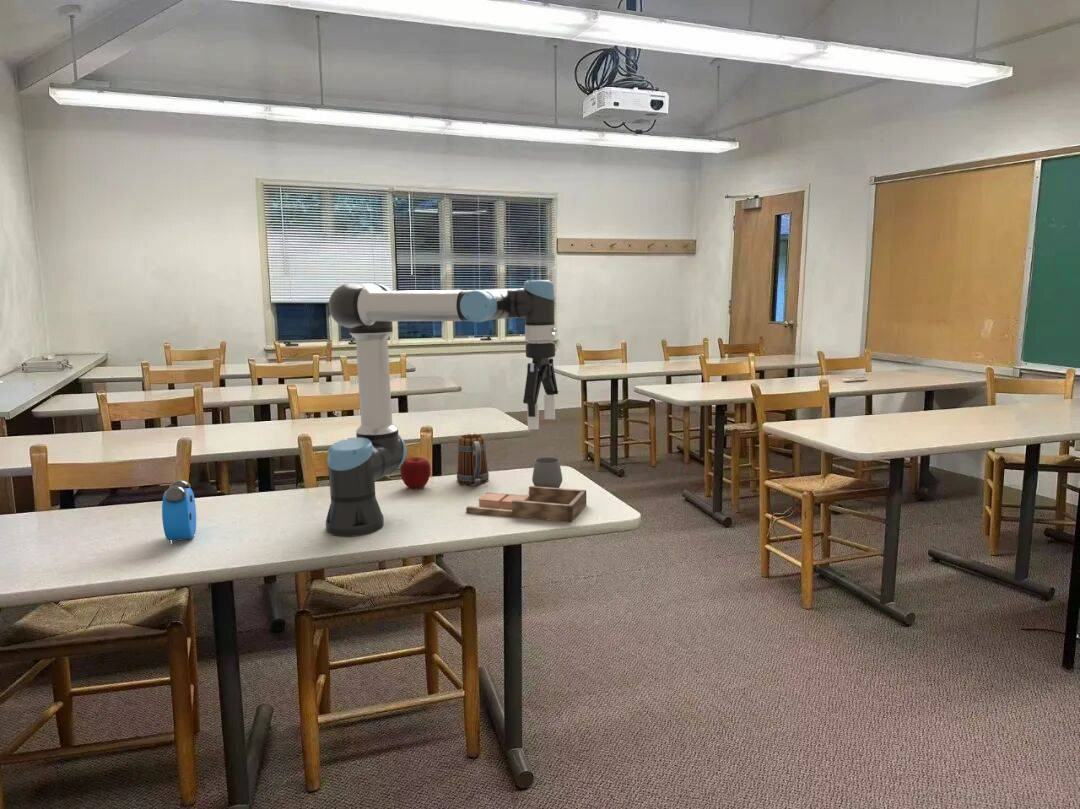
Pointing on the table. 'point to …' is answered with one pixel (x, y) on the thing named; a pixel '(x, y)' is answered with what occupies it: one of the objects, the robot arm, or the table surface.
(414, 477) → the apple
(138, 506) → the table surface
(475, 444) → the mug
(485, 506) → the tile
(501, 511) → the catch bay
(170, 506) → the alarm clock
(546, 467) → the cup
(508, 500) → the tile
